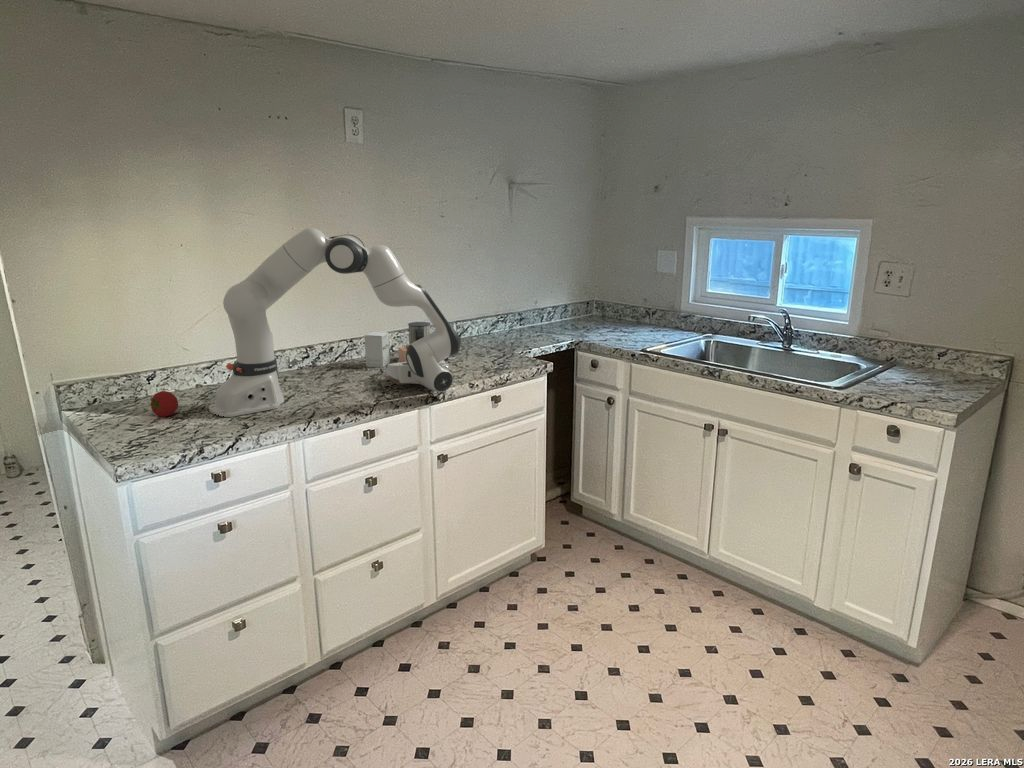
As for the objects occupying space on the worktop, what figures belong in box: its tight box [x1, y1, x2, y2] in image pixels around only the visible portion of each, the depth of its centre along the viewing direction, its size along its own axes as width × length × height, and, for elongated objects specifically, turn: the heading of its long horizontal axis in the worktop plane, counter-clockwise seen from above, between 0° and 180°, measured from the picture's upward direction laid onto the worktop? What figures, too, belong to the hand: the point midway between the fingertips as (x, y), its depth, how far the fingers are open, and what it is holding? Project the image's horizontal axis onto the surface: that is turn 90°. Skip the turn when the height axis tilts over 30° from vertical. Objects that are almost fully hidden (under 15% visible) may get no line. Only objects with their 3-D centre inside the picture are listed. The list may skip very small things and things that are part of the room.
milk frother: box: [407, 321, 449, 360], centre depth 263 cm, size 14×16×15 cm
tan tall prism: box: [397, 344, 410, 362], centre depth 233 cm, size 6×6×12 cm
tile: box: [384, 375, 413, 386], centre depth 235 cm, size 14×14×1 cm
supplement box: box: [363, 331, 391, 368], centre depth 255 cm, size 7×7×13 cm
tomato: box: [149, 390, 179, 418], centre depth 196 cm, size 8×8×8 cm
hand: (408, 362), depth 234 cm, fingers closed on tan tall prism, 6 cm apart
